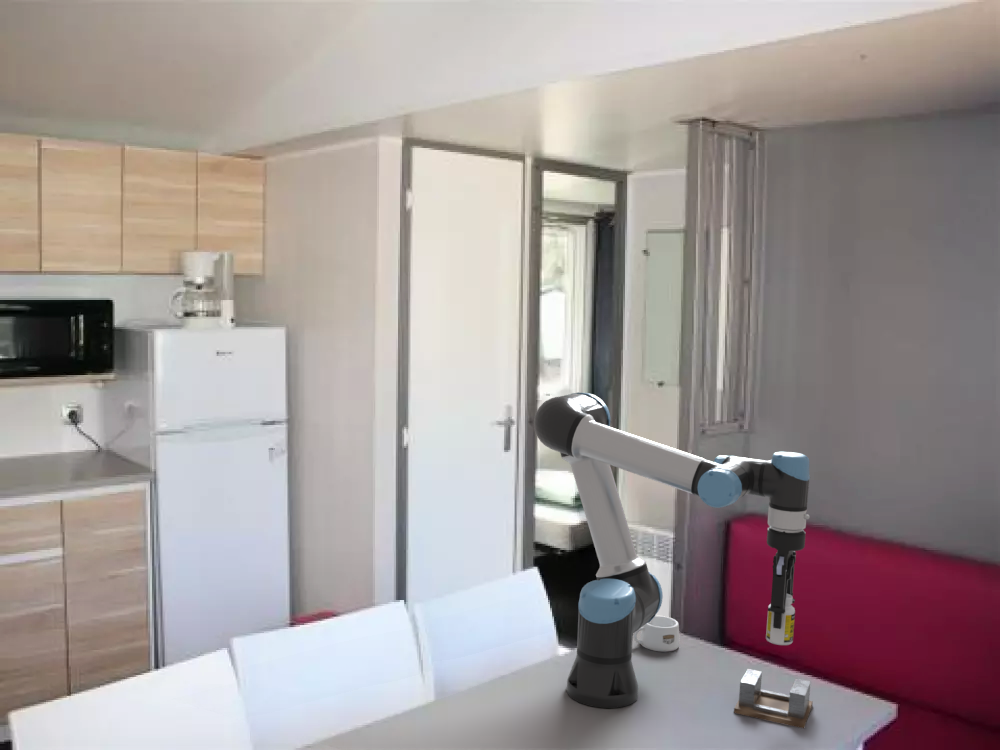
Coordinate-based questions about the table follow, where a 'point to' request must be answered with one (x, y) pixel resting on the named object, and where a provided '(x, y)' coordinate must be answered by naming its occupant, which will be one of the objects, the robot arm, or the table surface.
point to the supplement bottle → (788, 622)
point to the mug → (659, 634)
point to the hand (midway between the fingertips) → (779, 637)
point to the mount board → (772, 717)
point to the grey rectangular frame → (774, 695)
